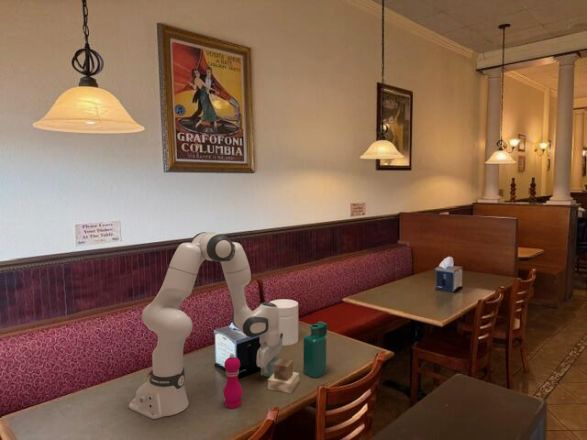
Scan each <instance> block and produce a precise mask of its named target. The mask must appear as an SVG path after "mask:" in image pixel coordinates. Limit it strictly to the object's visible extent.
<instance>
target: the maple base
mask: <svg viewBox="0 0 587 440" xmlns="http://www.w3.org/2000/svg"><path fill="white" fill-rule="evenodd" d="M299 383H300V373H299V372H295V371H293V375H292V376H291V377H290V379H289V380H288V381H286V380H280V379H275V378H274V374H273V375H272V376H271V377H269V378H268V379H267V389H268V390H271V391H276V392H282V393H286V394H292V392H293V391H294V390H295V388H296V387H297V386H298V384H299Z"/></svg>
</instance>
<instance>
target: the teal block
mask: <svg viewBox="0 0 587 440" xmlns="http://www.w3.org/2000/svg"><path fill="white" fill-rule="evenodd" d="M279 359H280V358H278V357H277V358H273V359H272V360H271V361H270V362H269V363H268V368H269V372H268V373H264V368H261V367H260V376H263V375H264V376H263V377H269V378H270V377H271V376H272V375H273V374H274V364H275V363H276V362H277V361H278V360H279Z"/></svg>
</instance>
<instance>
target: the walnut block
mask: <svg viewBox="0 0 587 440" xmlns="http://www.w3.org/2000/svg"><path fill="white" fill-rule="evenodd" d="M278 359H279V360H278V361H277V362H276V363H275V364H274V378H275V379H280V380H286V381H288V380H289V379H290V377H291V376H292V375H293V372H294V361H293V360H291V359H286V358H285V359H283V358H278Z"/></svg>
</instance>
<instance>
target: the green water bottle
mask: <svg viewBox="0 0 587 440" xmlns="http://www.w3.org/2000/svg"><path fill="white" fill-rule="evenodd" d="M308 328H309V329H310V333H309V334H306V335H305V336H304V337H303V342H302V343H303V346H302V351H303V361H302V362H303V363H302V364H303V369H302V370H303V373H304V374H305V375H307V376H309V377H311V378H314V379H315V378H316V379H317V378H319V377H321V376H324V375H325V374H327V337H326V336H327V334H328V323H326V322H323V321H317V323H314V324H313V323H312V324H310V325H308Z"/></svg>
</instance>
